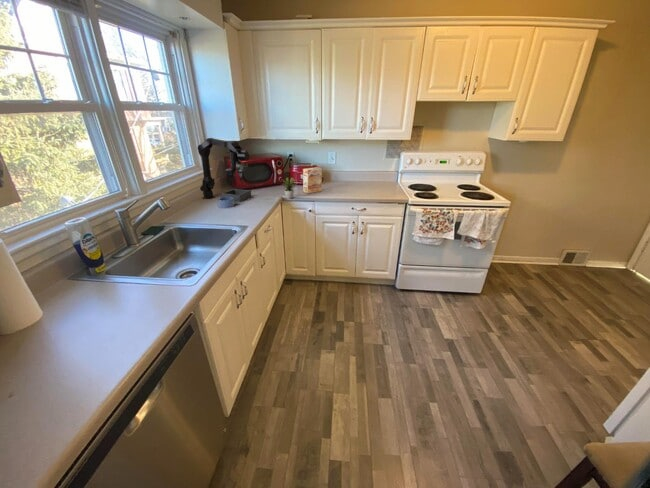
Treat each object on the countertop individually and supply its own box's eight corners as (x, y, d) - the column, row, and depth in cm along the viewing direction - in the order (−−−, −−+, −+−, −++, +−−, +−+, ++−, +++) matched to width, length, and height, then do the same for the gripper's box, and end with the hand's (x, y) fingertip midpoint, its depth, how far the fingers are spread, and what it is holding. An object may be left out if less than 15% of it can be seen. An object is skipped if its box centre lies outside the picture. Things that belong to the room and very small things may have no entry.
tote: (222, 199, 213) (221, 193, 211) (234, 194, 227) (233, 188, 224) (240, 201, 209) (239, 195, 207) (251, 196, 222) (250, 190, 220)
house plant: (294, 201, 212) (293, 179, 205) (277, 199, 215) (276, 178, 208) (300, 196, 224) (300, 176, 217) (285, 195, 228) (284, 175, 221)
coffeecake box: (307, 193, 233) (307, 169, 224) (303, 192, 238) (302, 168, 229) (322, 191, 241) (322, 168, 233) (317, 189, 246) (317, 166, 238)
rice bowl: (216, 206, 197) (215, 199, 195) (225, 203, 206) (224, 196, 204) (228, 208, 194) (227, 201, 192) (237, 204, 203) (236, 197, 201)
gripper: (237, 162, 188) (240, 185, 194) (252, 158, 204) (254, 180, 210) (223, 161, 191) (226, 184, 197) (238, 157, 207) (241, 178, 213)
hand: (237, 181), depth 205 cm, fingers open, 9 cm apart
